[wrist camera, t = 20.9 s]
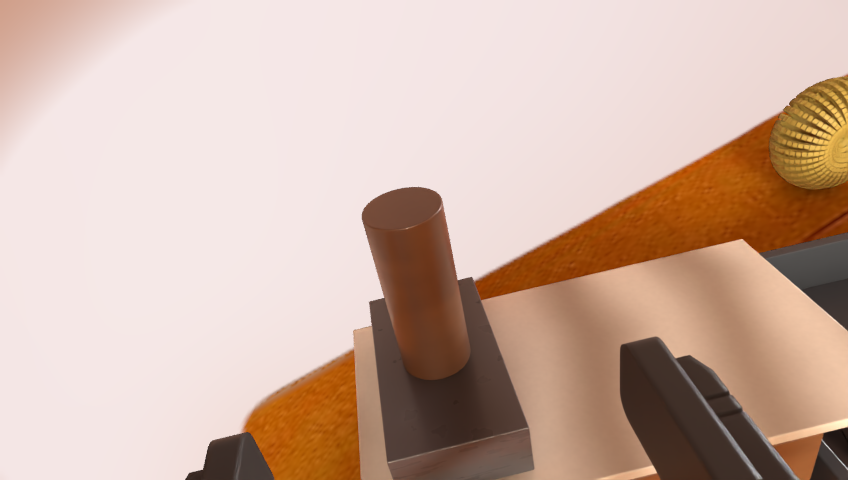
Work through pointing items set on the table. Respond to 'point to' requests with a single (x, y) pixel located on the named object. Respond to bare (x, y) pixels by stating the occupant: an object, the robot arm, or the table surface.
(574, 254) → the table surface
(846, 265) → the bin
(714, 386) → the robot arm
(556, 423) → the beige flat block
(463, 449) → the stamp with brown handle
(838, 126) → the sculpture
